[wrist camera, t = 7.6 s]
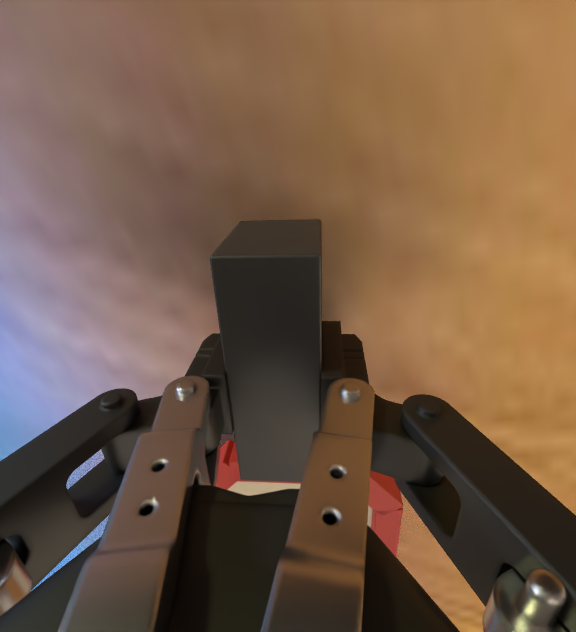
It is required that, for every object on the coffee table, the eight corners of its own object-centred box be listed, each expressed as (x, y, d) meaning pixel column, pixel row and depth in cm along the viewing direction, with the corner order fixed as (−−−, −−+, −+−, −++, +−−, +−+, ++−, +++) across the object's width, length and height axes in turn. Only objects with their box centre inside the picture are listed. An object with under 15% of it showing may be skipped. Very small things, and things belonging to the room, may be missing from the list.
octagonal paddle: (139, 223, 13) (71, 258, 10) (431, 216, 12) (475, 251, 9) (216, 585, 23) (197, 668, 20) (383, 595, 22) (395, 684, 19)
